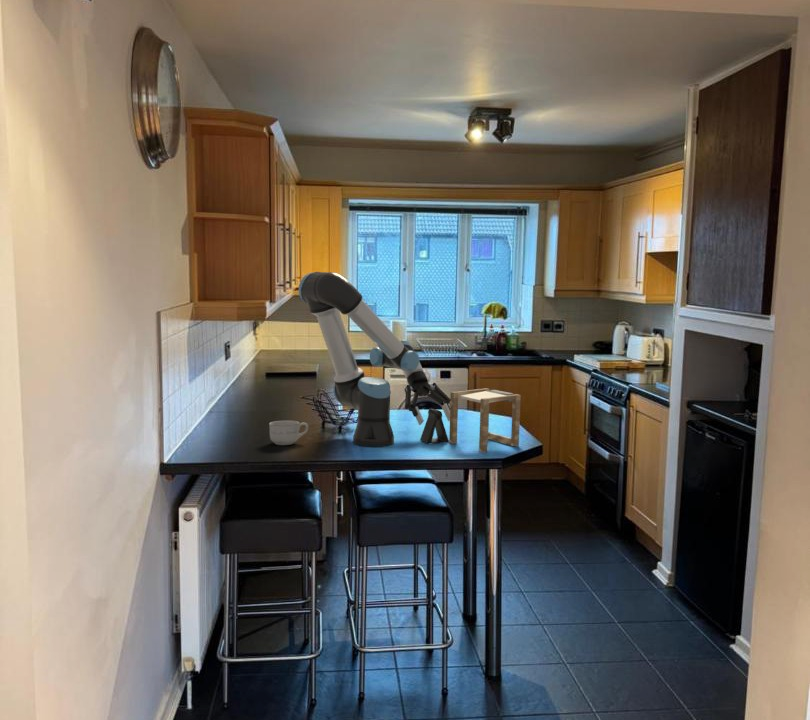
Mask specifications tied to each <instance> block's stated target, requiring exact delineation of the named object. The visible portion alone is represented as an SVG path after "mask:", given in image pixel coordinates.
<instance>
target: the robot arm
mask: <svg viewBox="0 0 810 720" xmlns="http://www.w3.org/2000/svg"><path fill="white" fill-rule="evenodd" d="M298 294H299V297H300V299H301V300H302V301H303V302H304V303H306V304H307V306H308V309H309V311H310V312H309V313H310V314H311V315H313V316H316V319H317V322H318V325H319V328H320V331H321V333H322V336H323V339H324V343H325V346H326V348H327V352H328V355H329V357H330V360H331V363H332V366H333V369H334V372H335V376H334V377H333V382H334V386H333V390H332V391H333V396H334V399H335V400H336V401H337V402H338V404H340V405H342V406H343V407H347V408H349V409H354V410H357V423H356V426H355V429H354V433H353V435H352V442H353V444H354V445H357V446H363V447H371V448H372V447H373V448H374V447H375V448H376V447H378V448H379V447H387V446H391V445H393V444H395V435H394V432H393V428H392V426H391V420H390V417H391V415H390V414H391V385H390V382H389V381H388V380H386V379H385V378H381V377H377V376H366V375H365V372H364V369H363V368H361V367H359V366H358V365H357V364H358V363H357V361H356V359H355V358H356V357H355V355H354V352H353V348H352V346H351V343H350V339H349V337H348V333H347V331H346V327H345V325H344V321H343V318H342V316H341V314H342V315H344V316H347V317H348V318H350V319H351V320H352V321H353V323H354V324H355V325H357V327H358V328H359V329H360V330H361V331H362V332H363V333H364V334H365V335H366V336H367V337H368V338H369V339H370V340H371V341H372V342H373V343H374V344H375V346H376V347H373V348H371V350H370V353H369V362H370V364H371V365H372V366H373V367H388V368H392V369H398V370H401V371H402V373H403V374H404V377H405V379H406V382H407V385H406V386H405V388H404V390H403V391H404V392H405V399H404V409H405V410H408V411H409V412H411V413H412V415H413V417H415V418H416V421H417V424H418V425H419V426H421V425H422V424H423V423H424V421H425V420H424V418H423V416H422V413H421V411H420V409H419V407H418V406H416V404H417V401H418V399H419V397H428V398H430V399H433V400H434V401H435V402H436V403H438V404H440V405H441V409H442V410H443V413H444V415H445V417H446V419H447V422H450V397H449V396H448V395H447V394H446V393H445V392H444V391H443V390H441V388H440V387H439V386H438V385H437V383H436V382H433V383H432V384H430V383H429V382H428V377H427V375H426V373H425V371H424V368H423V367H422V364H421V362H420V357H419V354H418V353H417V352H416V351H415V348H414V347H413V346H412V344H411V342H410V341H409V340H406V339H401V340H400V339H399V338H398V337H397V336H396V335H395V333H394V332H393V331H392V330H390V328H389V327H388V326H387V325H386V324H385V323H384V322H383V320H381V319H380V317H379V316H378V315H377V314H376V313H375V311H373V310H372V309H371V308H370V306H369V305H368V304H367V303H366V302H365V301H364V300H363V297H364V296H363V294H361V292H360V291H359V290H358V289H357V288H356V287H355V286H354V285H353V284H352V283H351V282H350V281H349V280H348V279H346V277H344V276H343V275H342V274H339V273H337V272H331V271H328V272H327V271H325V272H321V271H313V272H309V273H307V274H305V275H304V276H302V278H301V280H300V282H299V284H298ZM412 393H413V397H412ZM411 397H412V398H411Z"/></svg>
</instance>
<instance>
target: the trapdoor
mask: <svg viewBox="0 0 810 720" xmlns="http://www.w3.org/2000/svg"><path fill="white" fill-rule="evenodd" d="M508 395H514V393H513V392H507V391H502V390H498V389H490V391H483V392H478V393H472V394H467V395H459V397H460V398H459V399H460V400H461V399H462V400H466V401H471V402H473V403H479V404H481V399H482V398H492V397H500V396H508ZM501 401H503V402H509V403H510V402H513V399H509V400H501ZM501 401H500V402H501ZM496 402H498V401H493V402H489V404H491V403H496Z"/></svg>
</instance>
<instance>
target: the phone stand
mask: <svg viewBox="0 0 810 720" xmlns="http://www.w3.org/2000/svg"><path fill="white" fill-rule="evenodd" d="M444 425H445V424H444V422H443V413H442V411H440V410H438V409H435V408H434V407H433V408H428V410H427V419H426V422H425V425H424V428H423V430H422V433H421V436H420V439H419V440H420V441H422V442H423V443H425V444H427V445H430V444H429V443H433V444H441V443H440V442H445V443H449V438H448V434H447V431H446V427H445V426H444ZM435 433H436V436H437V437H434V435H435ZM433 437H434V438H433Z"/></svg>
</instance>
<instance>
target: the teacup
mask: <svg viewBox="0 0 810 720" xmlns="http://www.w3.org/2000/svg"><path fill="white" fill-rule="evenodd" d="M268 425H269V438H270V441H271V442H273V443H274V444H275V445H276V446H289V445H293V444H295V443H296V442H297V441H298V439H300V438H301V437H302V436H304V435H305V434H306V433H307V432H308V431H309V425H308V423H306V422H299V421H298V420H297V421H296V420H275V421H271V422H269V424H268ZM302 426H304V427H305V429H304V431H302V432H300V430H301V427H302Z"/></svg>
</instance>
